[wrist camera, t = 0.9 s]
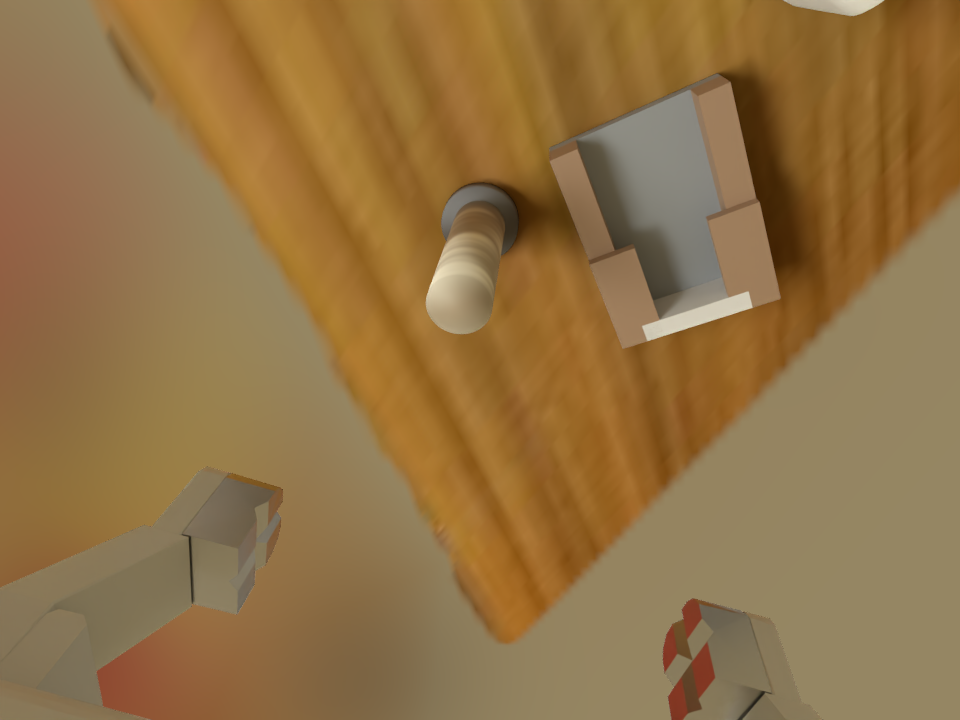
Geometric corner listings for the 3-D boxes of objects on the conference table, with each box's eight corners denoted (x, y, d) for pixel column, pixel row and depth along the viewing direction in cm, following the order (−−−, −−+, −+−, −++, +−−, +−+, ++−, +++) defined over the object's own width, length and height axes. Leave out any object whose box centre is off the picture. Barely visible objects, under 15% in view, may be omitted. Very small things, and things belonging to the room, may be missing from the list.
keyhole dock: (549, 148, 43) (549, 164, 39) (717, 73, 39) (734, 84, 36) (617, 322, 51) (622, 348, 47) (763, 273, 47) (780, 298, 43)
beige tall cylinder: (430, 200, 46) (391, 281, 35) (499, 170, 44) (482, 244, 33) (463, 265, 49) (438, 359, 37) (530, 238, 47) (524, 329, 36)
